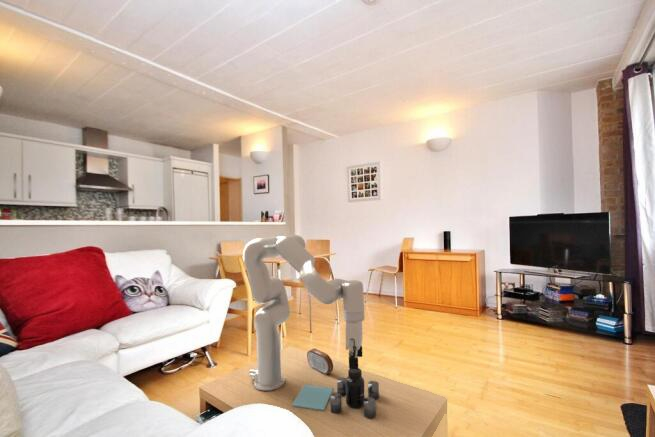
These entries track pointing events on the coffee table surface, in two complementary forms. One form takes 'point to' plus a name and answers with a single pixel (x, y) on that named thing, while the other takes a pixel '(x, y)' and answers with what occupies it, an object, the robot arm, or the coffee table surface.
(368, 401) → the cylinder
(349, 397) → the supplement bottle
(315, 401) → the teal board
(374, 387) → the spacer back right
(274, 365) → the robot arm
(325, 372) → the tin
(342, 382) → the cylinder
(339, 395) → the cylinder
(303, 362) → the coffee table surface
